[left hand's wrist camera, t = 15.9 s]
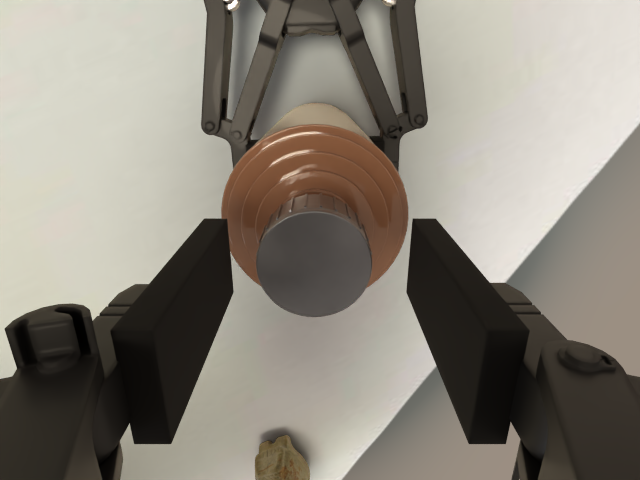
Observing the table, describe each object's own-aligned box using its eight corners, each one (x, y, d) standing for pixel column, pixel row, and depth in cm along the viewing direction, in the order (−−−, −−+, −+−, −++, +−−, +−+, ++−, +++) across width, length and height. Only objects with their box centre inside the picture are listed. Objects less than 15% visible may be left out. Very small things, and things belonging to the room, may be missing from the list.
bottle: (380, 133, 36) (486, 217, 13) (333, 212, 38) (355, 394, 16) (297, 84, 34) (258, 85, 12) (254, 169, 37) (155, 303, 14)
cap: (386, 223, 15) (396, 245, 13) (333, 305, 17) (335, 336, 14) (293, 172, 15) (289, 187, 13) (245, 261, 16) (234, 287, 14)
